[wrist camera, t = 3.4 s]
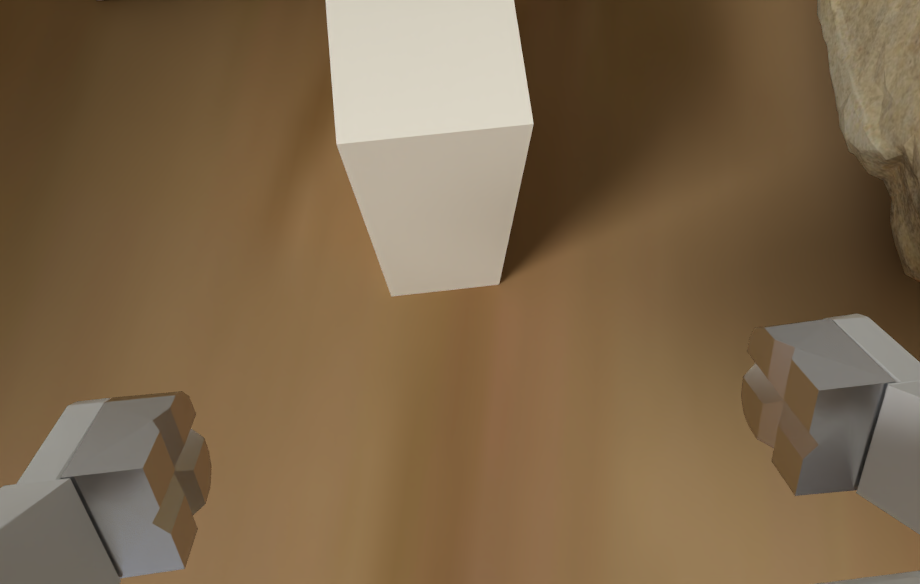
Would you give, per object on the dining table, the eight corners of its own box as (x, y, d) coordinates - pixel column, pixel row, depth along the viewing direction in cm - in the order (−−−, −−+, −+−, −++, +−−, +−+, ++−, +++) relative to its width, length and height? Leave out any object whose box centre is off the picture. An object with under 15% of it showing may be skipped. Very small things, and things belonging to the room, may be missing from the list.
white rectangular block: (391, 296, 25) (336, 144, 14) (373, 103, 28) (312, -169, 16) (499, 284, 26) (533, 123, 14) (472, 93, 28) (484, -185, 16)
